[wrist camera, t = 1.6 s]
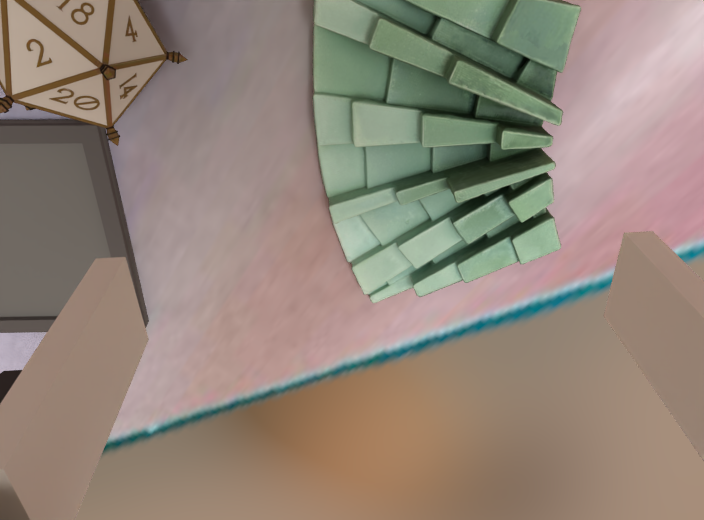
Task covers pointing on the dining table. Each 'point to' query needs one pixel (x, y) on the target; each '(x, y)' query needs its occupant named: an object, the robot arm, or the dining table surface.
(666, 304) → the robot arm
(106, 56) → the game die
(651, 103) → the dining table surface
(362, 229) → the green curved brick section
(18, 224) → the mat
